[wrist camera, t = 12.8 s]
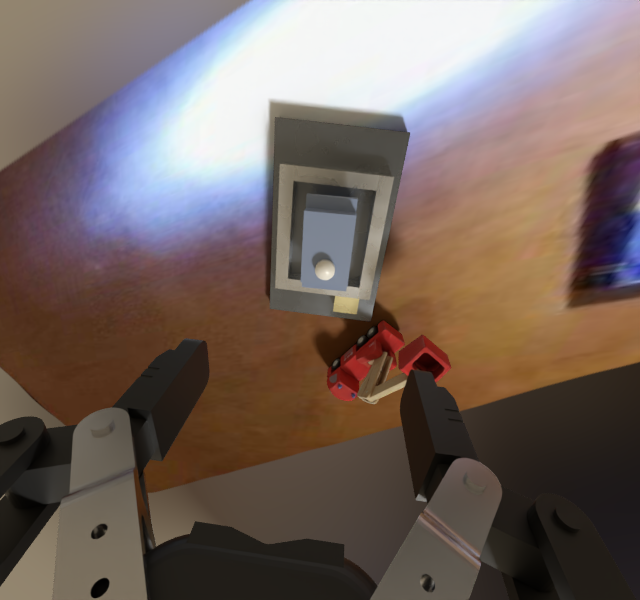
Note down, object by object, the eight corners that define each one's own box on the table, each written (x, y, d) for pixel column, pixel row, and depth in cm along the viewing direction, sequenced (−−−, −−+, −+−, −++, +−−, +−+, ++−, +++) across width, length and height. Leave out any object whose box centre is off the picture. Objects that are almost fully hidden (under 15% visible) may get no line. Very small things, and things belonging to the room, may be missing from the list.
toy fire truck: (324, 368, 38) (318, 433, 30) (407, 294, 33) (427, 349, 24) (344, 382, 39) (343, 450, 31) (428, 312, 34) (455, 372, 25)
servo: (356, 191, 27) (358, 203, 22) (346, 274, 31) (346, 300, 26) (311, 187, 28) (303, 198, 23) (306, 270, 31) (299, 295, 26)
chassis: (407, 132, 26) (413, 132, 24) (370, 315, 34) (371, 329, 32) (278, 118, 26) (271, 116, 24) (272, 303, 35) (266, 315, 32)
